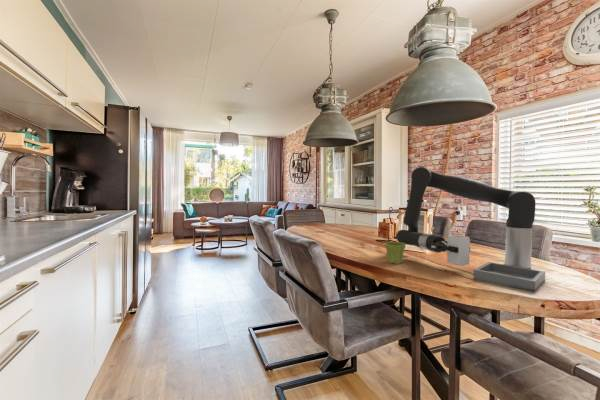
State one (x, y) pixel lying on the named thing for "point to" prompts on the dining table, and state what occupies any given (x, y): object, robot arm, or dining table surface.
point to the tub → (459, 250)
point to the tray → (510, 276)
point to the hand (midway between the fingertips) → (463, 249)
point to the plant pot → (395, 251)
